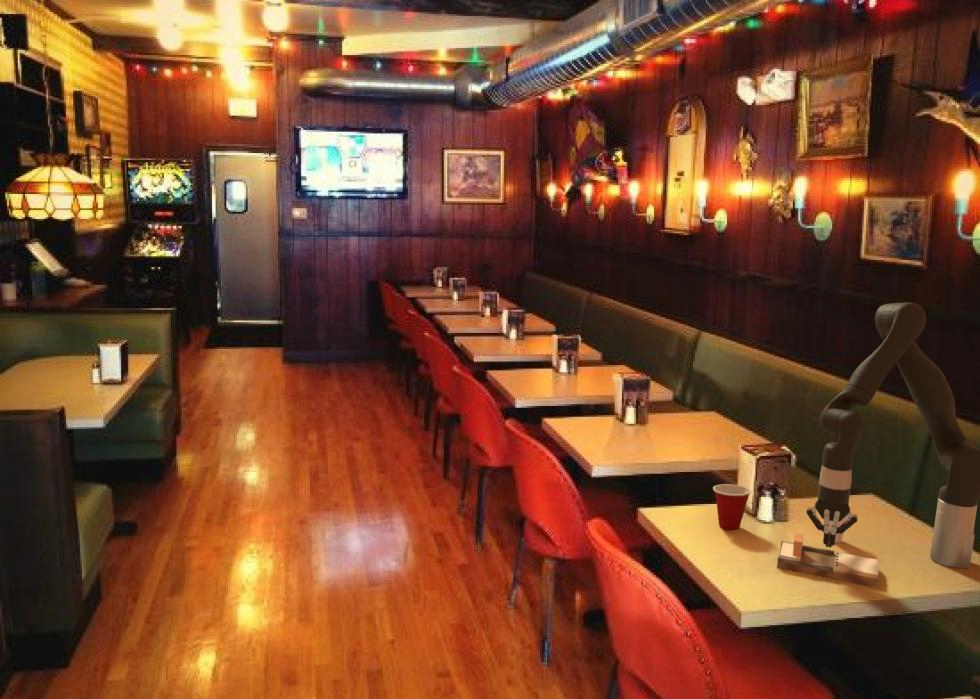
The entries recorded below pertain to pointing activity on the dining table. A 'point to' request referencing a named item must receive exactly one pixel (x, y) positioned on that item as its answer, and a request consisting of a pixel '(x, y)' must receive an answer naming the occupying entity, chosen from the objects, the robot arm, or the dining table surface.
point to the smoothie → (838, 536)
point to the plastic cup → (731, 504)
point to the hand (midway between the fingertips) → (828, 546)
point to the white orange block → (793, 548)
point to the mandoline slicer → (832, 565)
